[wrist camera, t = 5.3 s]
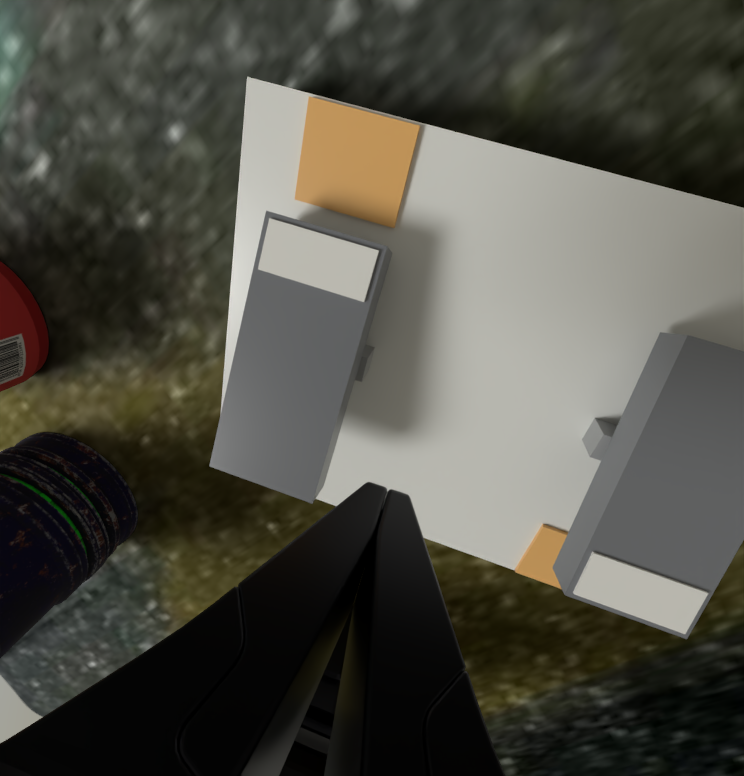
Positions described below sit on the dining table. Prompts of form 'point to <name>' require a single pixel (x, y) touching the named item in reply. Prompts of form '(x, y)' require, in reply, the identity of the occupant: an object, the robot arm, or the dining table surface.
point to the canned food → (19, 331)
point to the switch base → (486, 309)
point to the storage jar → (55, 525)
